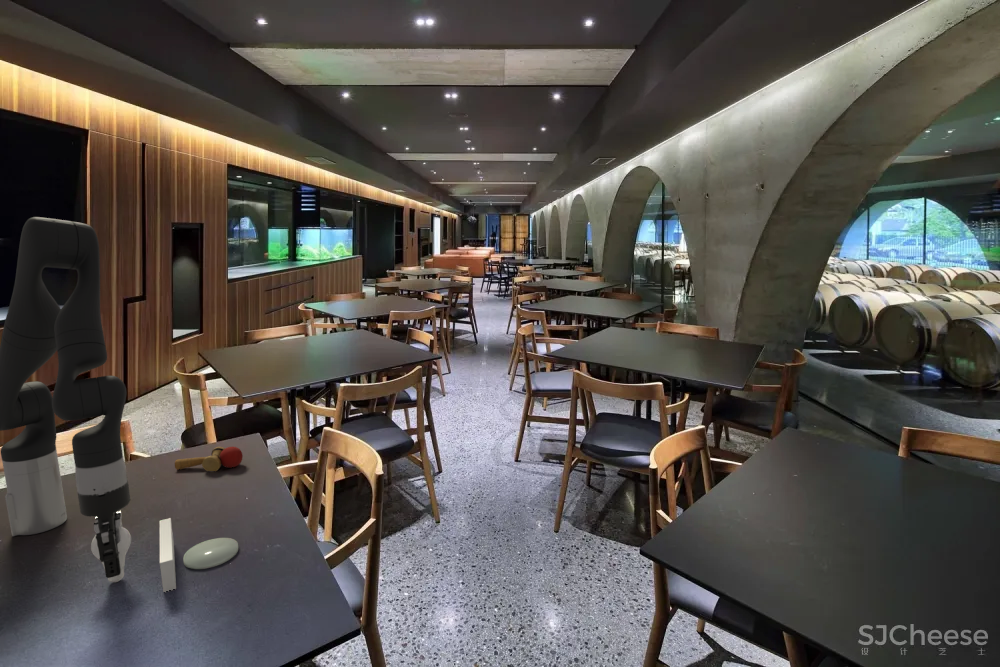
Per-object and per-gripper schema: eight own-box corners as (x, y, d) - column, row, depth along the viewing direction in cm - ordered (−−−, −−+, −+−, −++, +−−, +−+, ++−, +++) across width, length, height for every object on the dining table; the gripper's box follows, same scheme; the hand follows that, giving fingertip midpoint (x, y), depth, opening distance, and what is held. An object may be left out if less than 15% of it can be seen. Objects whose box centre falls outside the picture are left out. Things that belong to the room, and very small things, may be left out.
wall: (163, 592, 98) (159, 563, 97) (162, 546, 113) (159, 520, 112) (176, 589, 99) (172, 559, 98) (173, 543, 114) (170, 517, 113)
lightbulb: (120, 591, 98) (113, 536, 96) (88, 591, 98) (80, 536, 96) (143, 571, 104) (136, 519, 102) (113, 571, 104) (105, 519, 102)
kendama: (171, 480, 148) (237, 468, 149) (167, 458, 148) (233, 446, 149) (185, 473, 155) (248, 462, 157) (182, 452, 155) (245, 441, 157)
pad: (184, 575, 103) (184, 571, 103) (182, 550, 111) (182, 547, 111) (241, 558, 108) (241, 555, 108) (235, 536, 116) (235, 533, 116)
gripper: (82, 474, 102) (94, 555, 105) (71, 504, 90) (85, 595, 93) (129, 465, 106) (139, 543, 108) (125, 493, 94) (137, 580, 97)
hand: (114, 567), depth 101 cm, fingers closed on lightbulb, 5 cm apart
